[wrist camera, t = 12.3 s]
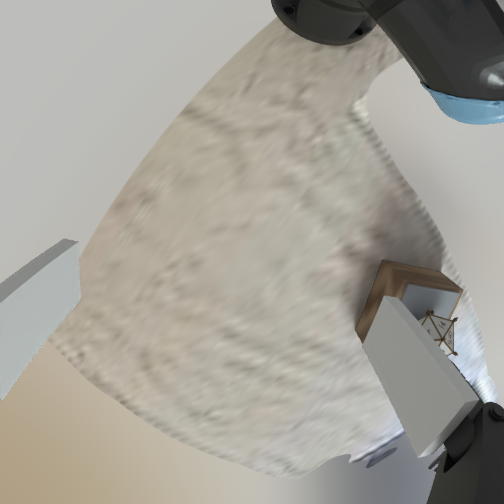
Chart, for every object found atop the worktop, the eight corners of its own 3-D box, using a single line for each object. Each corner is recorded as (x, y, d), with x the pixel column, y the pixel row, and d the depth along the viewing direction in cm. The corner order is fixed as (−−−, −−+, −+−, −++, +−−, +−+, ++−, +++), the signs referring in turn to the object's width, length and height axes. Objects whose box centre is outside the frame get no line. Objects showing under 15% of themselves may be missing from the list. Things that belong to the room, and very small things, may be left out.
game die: (402, 304, 42) (426, 297, 32) (446, 317, 39) (477, 312, 30) (386, 360, 40) (407, 367, 30) (432, 371, 38) (460, 379, 28)
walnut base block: (382, 259, 43) (404, 280, 36) (440, 272, 44) (464, 291, 37) (355, 330, 47) (369, 357, 40) (412, 334, 48) (430, 358, 42)
